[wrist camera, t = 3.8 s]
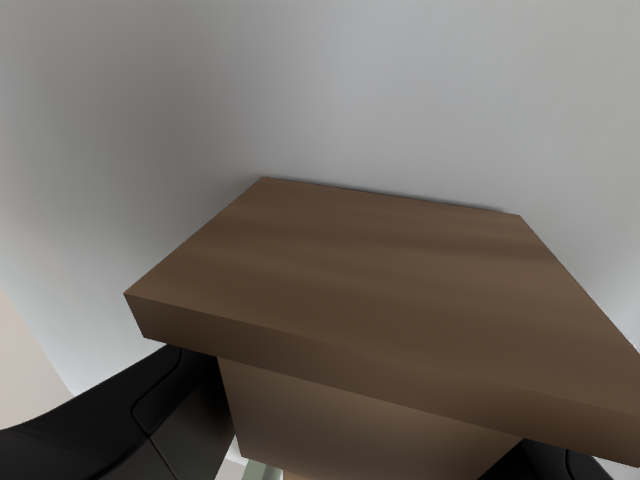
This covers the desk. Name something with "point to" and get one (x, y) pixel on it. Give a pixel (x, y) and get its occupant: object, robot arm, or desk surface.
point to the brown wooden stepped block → (392, 336)
